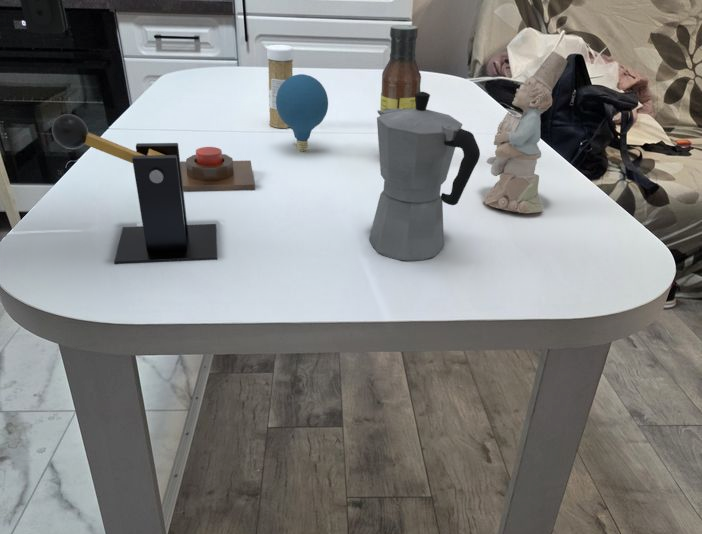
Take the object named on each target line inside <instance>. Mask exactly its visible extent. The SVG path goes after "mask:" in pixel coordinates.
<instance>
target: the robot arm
mask: <svg viewBox="0 0 702 534" xmlns="http://www.w3.org/2000/svg"><path fill="white" fill-rule="evenodd" d="M19 2H20V6H21V10H22V15H23V19H24V23H25V28H26V30H27V32H28V33H31V34H55V35H57V34H63V33H64V32H65V31H66V30H68V25H69V24H68V21H67V15H66V10H65V5H64V0H19Z"/></svg>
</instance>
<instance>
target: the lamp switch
mask: <svg viewBox="0 0 702 534" xmlns="http://www.w3.org/2000/svg"><path fill="white" fill-rule="evenodd" d="M149 149H152V150H154V151H157V152H159V153H162V154H164V155H147V154H148V151H149ZM135 151H136V152H138V153H141V154H143V155H139V156H133V158H132V161H133V163H132V166H133V167H132V168H133V173H134V179H135V186H136V192H137V198H138V205H139V210H140V216H141V223H142V226H140V225H139V226H123V227H122V229H121V232H120V237H119V241H118V246H117V249H116V253H115V256H114V261H113V263H114V265H128V264H150V263H173V262H175V263H176V262H195V261H197V262H199V261H217V260H218V242H217V239H218V238H217V237H218V236H217V223H201V224H199V223H198V224H188V219H187V218H188V217H187V210H186V202H185V201H186V200H185V192H184V191H183V183H182V174H181V165H180V162H181V158H180V157H181V156H180V149H179V143H178V142H154V143H153V142H148V143H147V142H145V143H144V142H141V143H140V142H138V143H136V144H135Z"/></svg>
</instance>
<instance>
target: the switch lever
mask: <svg viewBox="0 0 702 534" xmlns="http://www.w3.org/2000/svg"><path fill="white" fill-rule="evenodd" d="M88 129H89V128H88V126H87V124H86V123H85V122H84V121H83V119H82V118H81V117H79V116H77V115H75V114H71V113H64V114H61V115H58V116H57V117H56V118H55V119H54V120H53V122H52V125H51V134H52V137H53V139H54V141H55V142H56V143H57V144H58V145H59V146H61V147H62V148H64V149H66V150H67V149H68V150H77V149H80V148H82V147H84V146H88V147H90V148H93V149H95V150H98V151H100V152H103V153H105V154H108V155H110V156H113V157H116V158H117V159H121V160H123V161H126V162H128V163H131V164H133V161H132V158H133V156H139V155H143V154H141V153H138V152H136V150H133V149H131V148H128V147H126V146H123V145H121V144H118V143H117V142H113V141H111V140H108V139H106V138H103V137H101V136H99V135H97V134H94V133H91V132H89V130H88ZM147 155H164V154H162V153H159V152H157V151H154V150H152V149H149V151H148V154H147Z"/></svg>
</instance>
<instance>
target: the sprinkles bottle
mask: <svg viewBox="0 0 702 534" xmlns="http://www.w3.org/2000/svg"><path fill="white" fill-rule="evenodd" d="M266 57H267V61H268V63H267V64H268V107H269V122H268V123H269V126H271V127H272V128H277V129H287V128H290V127H289V126H288V125H287V124H285V123H284V121H283V120H282V119H281V117H280V116H279V114H278V111H277V108H276V96H277V92H278V90H279V88H280V86H281V85H282V83H283V82H284V81H285V80H286V79H288V78H290V77H292V76H293V61H294V48H293V46H291V45H287V44H271V45H267V48H266Z"/></svg>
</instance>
